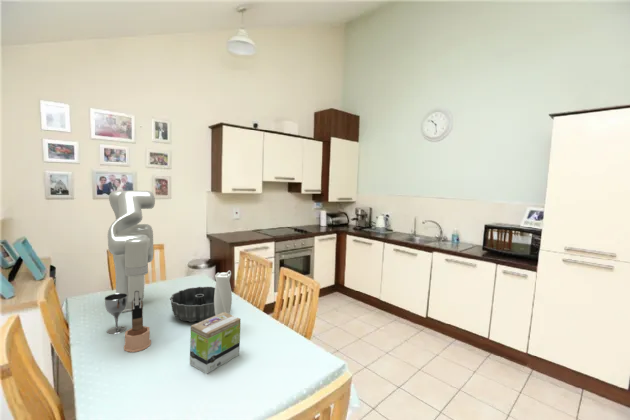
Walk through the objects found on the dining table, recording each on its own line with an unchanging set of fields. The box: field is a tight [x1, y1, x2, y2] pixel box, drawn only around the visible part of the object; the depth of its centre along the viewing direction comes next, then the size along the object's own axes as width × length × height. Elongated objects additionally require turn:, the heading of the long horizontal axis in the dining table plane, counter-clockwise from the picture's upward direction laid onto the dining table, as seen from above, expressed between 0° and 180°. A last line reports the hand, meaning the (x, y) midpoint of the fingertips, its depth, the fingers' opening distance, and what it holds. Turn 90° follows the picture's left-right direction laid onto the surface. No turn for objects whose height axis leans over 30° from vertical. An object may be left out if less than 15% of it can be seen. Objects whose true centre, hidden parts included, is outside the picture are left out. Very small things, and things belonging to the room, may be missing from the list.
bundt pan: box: [169, 286, 215, 323], centre depth 144 cm, size 26×26×10 cm
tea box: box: [189, 312, 241, 375], centre depth 108 cm, size 15×10×15 cm, turn 148°
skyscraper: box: [214, 270, 233, 315], centre depth 127 cm, size 8×8×28 cm
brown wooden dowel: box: [131, 299, 144, 331], centre depth 114 cm, size 4×4×14 cm
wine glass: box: [104, 293, 127, 335], centre depth 126 cm, size 8×8×15 cm
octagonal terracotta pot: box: [123, 325, 152, 353], centre depth 115 cm, size 9×9×6 cm
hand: (137, 315), depth 114 cm, fingers closed on brown wooden dowel, 3 cm apart
